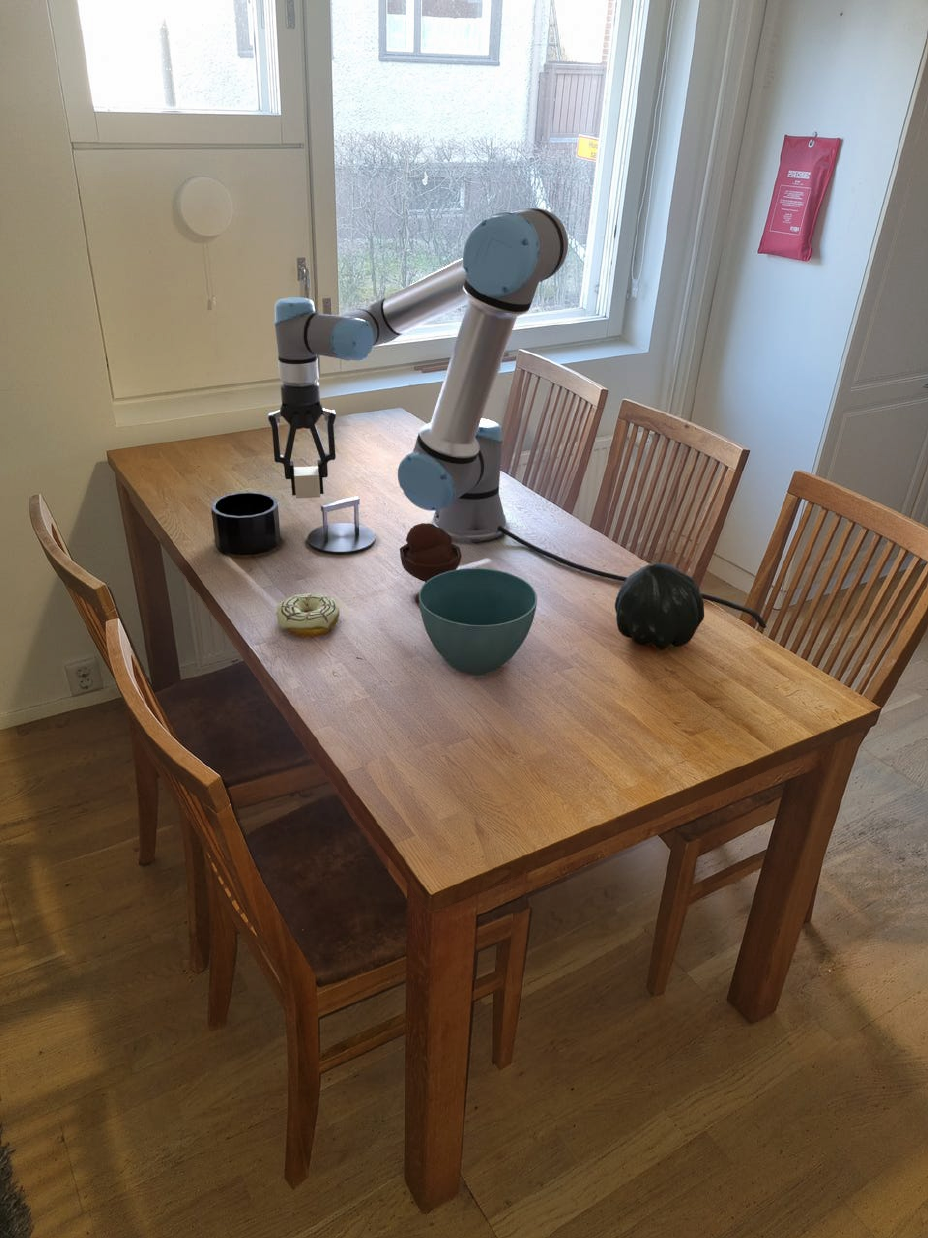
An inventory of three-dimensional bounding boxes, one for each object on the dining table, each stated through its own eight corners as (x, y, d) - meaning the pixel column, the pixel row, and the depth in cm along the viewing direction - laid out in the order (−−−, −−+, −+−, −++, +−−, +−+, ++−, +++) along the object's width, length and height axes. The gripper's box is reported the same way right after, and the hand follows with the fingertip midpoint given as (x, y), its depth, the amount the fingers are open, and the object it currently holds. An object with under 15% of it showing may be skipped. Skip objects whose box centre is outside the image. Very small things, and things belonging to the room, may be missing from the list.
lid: (388, 547, 180) (387, 506, 176) (327, 563, 173) (325, 521, 169) (354, 523, 190) (353, 483, 185) (296, 537, 183) (293, 496, 178)
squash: (718, 595, 155) (669, 530, 151) (720, 642, 143) (667, 573, 139) (648, 632, 162) (599, 571, 158) (645, 681, 150) (592, 616, 145)
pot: (291, 548, 178) (288, 508, 174) (231, 563, 172) (226, 522, 168) (264, 525, 187) (261, 487, 183) (206, 539, 181) (201, 499, 176)
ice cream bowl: (454, 617, 157) (456, 539, 149) (392, 609, 159) (391, 531, 151) (466, 589, 166) (468, 514, 158) (407, 582, 168) (407, 507, 160)
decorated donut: (274, 641, 149) (272, 621, 147) (281, 608, 158) (279, 589, 156) (337, 640, 149) (336, 620, 147) (341, 607, 159) (340, 588, 157)
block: (319, 488, 191) (317, 466, 189) (320, 497, 187) (318, 474, 185) (295, 489, 191) (293, 467, 188) (295, 498, 186) (294, 475, 184)
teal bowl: (495, 708, 134) (499, 637, 128) (396, 669, 142) (395, 601, 136) (551, 653, 148) (557, 588, 142) (457, 621, 156) (459, 557, 150)
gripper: (344, 374, 182) (349, 483, 193) (253, 377, 179) (264, 487, 191) (346, 385, 175) (352, 496, 187) (252, 388, 173) (263, 501, 184)
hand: (307, 492), depth 189 cm, fingers closed on block, 5 cm apart
